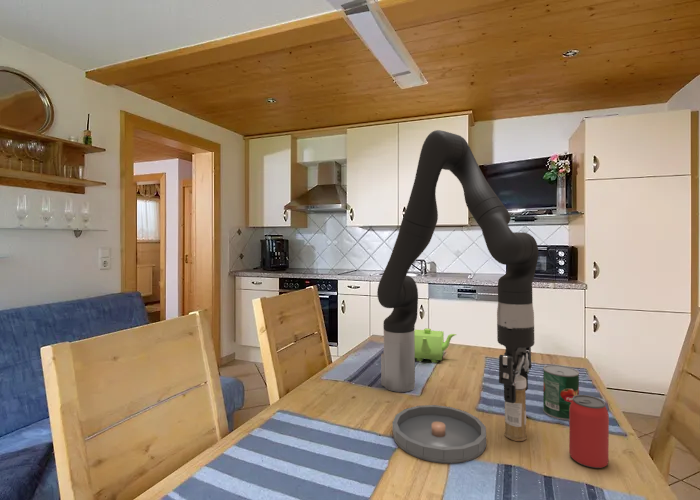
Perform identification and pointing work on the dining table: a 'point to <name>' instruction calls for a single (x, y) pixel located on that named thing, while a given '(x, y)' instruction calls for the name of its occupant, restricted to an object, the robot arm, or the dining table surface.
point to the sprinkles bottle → (516, 413)
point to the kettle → (430, 344)
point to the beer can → (589, 431)
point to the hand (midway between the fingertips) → (516, 395)
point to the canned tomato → (559, 390)
